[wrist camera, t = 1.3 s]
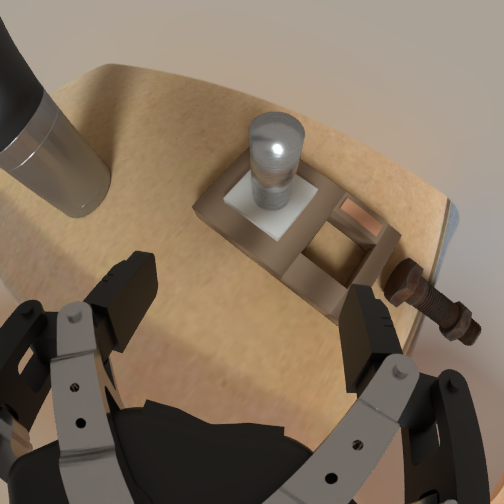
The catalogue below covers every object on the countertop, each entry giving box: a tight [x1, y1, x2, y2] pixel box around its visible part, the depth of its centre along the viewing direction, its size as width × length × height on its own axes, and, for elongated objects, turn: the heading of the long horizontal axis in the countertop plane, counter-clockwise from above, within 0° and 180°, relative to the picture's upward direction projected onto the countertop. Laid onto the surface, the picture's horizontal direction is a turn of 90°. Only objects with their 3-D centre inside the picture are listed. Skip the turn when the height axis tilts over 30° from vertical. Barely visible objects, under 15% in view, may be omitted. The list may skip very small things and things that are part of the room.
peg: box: [249, 112, 305, 211], centre depth 23 cm, size 4×4×10 cm
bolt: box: [384, 258, 481, 346], centre depth 26 cm, size 6×5×15 cm
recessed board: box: [192, 147, 402, 326], centre depth 29 cm, size 20×12×4 cm, turn 51°
